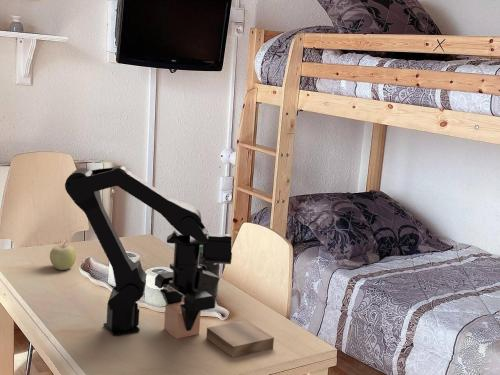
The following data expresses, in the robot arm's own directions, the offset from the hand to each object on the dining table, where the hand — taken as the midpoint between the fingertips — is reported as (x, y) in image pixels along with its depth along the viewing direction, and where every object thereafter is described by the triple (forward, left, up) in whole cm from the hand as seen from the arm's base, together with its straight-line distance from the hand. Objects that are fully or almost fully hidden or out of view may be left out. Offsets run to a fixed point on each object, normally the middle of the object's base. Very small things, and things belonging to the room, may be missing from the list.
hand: (181, 325), depth 150 cm
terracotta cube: (0, 0, -2) cm, 2 cm away
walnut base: (+9, -11, -2) cm, 14 cm away
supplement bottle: (+18, +19, -2) cm, 26 cm away
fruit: (-10, +53, -2) cm, 54 cm away
